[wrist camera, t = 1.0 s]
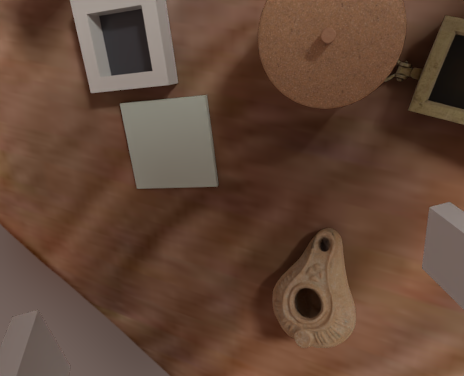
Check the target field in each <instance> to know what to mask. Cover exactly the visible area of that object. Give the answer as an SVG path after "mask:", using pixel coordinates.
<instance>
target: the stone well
mask: <svg viewBox="0 0 464 376" xmlns="http://www.w3.org/2000/svg"><path fill="white" fill-rule="evenodd" d="M70 3H71V7H72V12H73V16H74V21H75V25H76V30H77V34H78V38H79V43H80V47H81V52H82V56H83V61H84V65H85V69H86V74H87V78H88V83H89V87H90V92H91V93H98V92H107V91H117V90H127V89H136V88H146V87H155V86H165V85H172V84H176V83H178V78H177V71H176V65H175V58H174V51H173V45H172V38H171V32H170V25H169V18H168V12H167V5H166V0H70Z"/></svg>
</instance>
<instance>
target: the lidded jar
mask: <svg viewBox="0 0 464 376" xmlns="http://www.w3.org/2000/svg"><path fill="white" fill-rule="evenodd" d="M406 26H407V23H406V11H405V7H404V2H403V0H267V1H266V4H265V6H264V8H263V11H262V14H261V18H260V22H259V28H258V49H259V55H260V59H261V62H262V65H263V68H264V70H265V72H266V74H267V76H268V78H269V79H270V81H271V82H272V83H273V85H274V86H275V87H276V88H277V89H278V90H279V91H280V92H281V93H282V94H283V95H285V96H286V97H288V98H289V99H290V100H292V101H294V102H296V103H298V104H301V105H304V106H307V107H311V108H318V109H333V108H338V107H344V106H347V105H350V104H353V103H355V102H357V101H359V100H361V99H363V98H365V97H366V96H368V95H369V94H370V93H372V92H373V91H375V90H376V89H377V88H378V87H379V86H380V85H381V84H382V83H383V82H384V81H385V80H386V78H387V77H388V76H389V75H390V73H391V72H392V70H393V68H394V67H395V65H396V63H397V62H398V59H399V57H400V54H401V52H402V49H403V45H404V41H405V37H406Z"/></svg>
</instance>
